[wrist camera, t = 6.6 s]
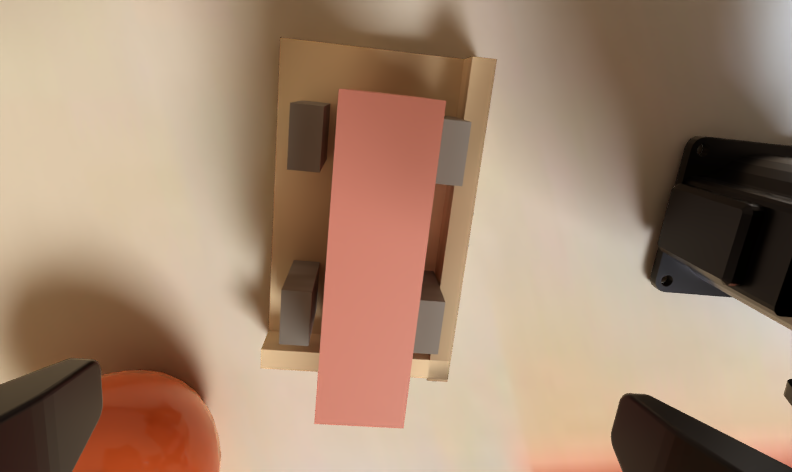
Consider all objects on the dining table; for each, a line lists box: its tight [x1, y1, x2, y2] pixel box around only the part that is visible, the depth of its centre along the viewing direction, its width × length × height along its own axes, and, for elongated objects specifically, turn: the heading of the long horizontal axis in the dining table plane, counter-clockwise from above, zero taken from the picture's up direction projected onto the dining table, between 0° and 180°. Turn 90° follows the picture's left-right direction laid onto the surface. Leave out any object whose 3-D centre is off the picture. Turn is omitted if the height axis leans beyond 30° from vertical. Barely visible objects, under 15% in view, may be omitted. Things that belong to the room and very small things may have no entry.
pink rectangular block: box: [314, 89, 446, 428], centre depth 16 cm, size 9×2×6 cm, turn 174°
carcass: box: [261, 37, 497, 382], centre depth 18 cm, size 7×12×4 cm, turn 174°
